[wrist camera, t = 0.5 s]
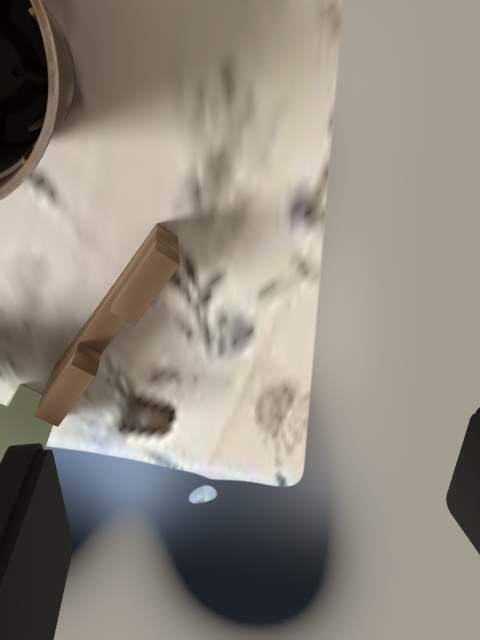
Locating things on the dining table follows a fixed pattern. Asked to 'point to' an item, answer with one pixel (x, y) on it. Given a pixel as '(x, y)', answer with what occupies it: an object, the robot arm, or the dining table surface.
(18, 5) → the plant pot
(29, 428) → the green slotted plate
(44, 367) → the dining table surface
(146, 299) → the walnut slotted plate
